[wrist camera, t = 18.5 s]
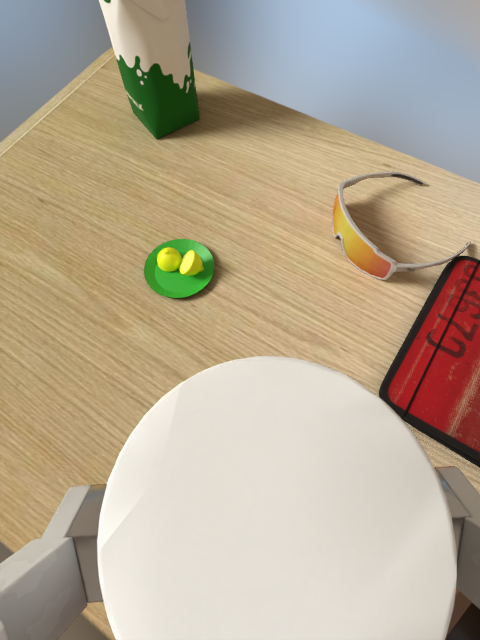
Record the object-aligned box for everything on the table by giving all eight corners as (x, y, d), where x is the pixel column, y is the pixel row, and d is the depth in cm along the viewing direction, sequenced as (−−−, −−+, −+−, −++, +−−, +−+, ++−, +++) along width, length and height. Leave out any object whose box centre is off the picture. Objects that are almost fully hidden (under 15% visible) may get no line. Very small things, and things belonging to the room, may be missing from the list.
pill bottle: (361, 623, 14) (629, 852, 4) (177, 639, 14) (-14, 909, 4) (329, 434, 17) (439, 295, 7) (176, 447, 17) (65, 324, 7)
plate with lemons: (217, 243, 49) (215, 228, 47) (211, 302, 46) (209, 289, 43) (151, 240, 50) (145, 225, 47) (139, 299, 46) (133, 286, 44)
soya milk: (124, 111, 60) (71, -64, 42) (178, 87, 62) (149, -89, 44) (154, 146, 57) (109, -28, 39) (209, 120, 59) (191, -57, 41)
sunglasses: (307, 205, 51) (318, 173, 47) (408, 185, 55) (427, 154, 51) (361, 299, 45) (379, 272, 41) (470, 269, 49) (497, 241, 45)
